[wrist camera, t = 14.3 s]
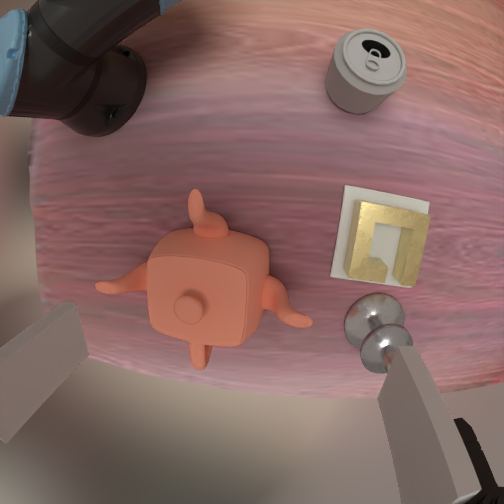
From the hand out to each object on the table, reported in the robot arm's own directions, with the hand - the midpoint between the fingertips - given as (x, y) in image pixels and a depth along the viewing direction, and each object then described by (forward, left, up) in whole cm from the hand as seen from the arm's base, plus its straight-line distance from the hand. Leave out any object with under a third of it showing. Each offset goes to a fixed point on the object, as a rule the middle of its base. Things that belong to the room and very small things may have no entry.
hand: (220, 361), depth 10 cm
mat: (-1, +14, -28) cm, 32 cm away
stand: (+11, +16, -28) cm, 34 cm away
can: (-20, +8, -29) cm, 36 cm away
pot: (+6, -7, -29) cm, 30 cm away
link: (-1, +14, -28) cm, 31 cm away
